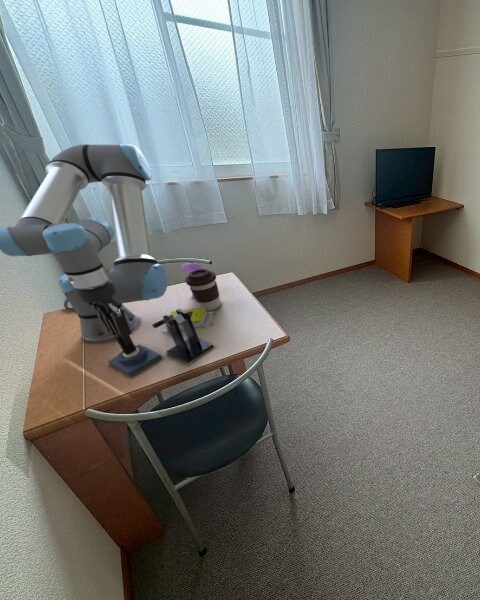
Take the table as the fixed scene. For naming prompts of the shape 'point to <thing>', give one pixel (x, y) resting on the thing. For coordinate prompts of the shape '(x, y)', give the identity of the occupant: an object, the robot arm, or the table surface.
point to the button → (132, 353)
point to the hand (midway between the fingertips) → (130, 351)
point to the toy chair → (191, 268)
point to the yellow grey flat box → (195, 318)
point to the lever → (178, 317)
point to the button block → (135, 361)
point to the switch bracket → (185, 348)
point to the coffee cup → (204, 288)
